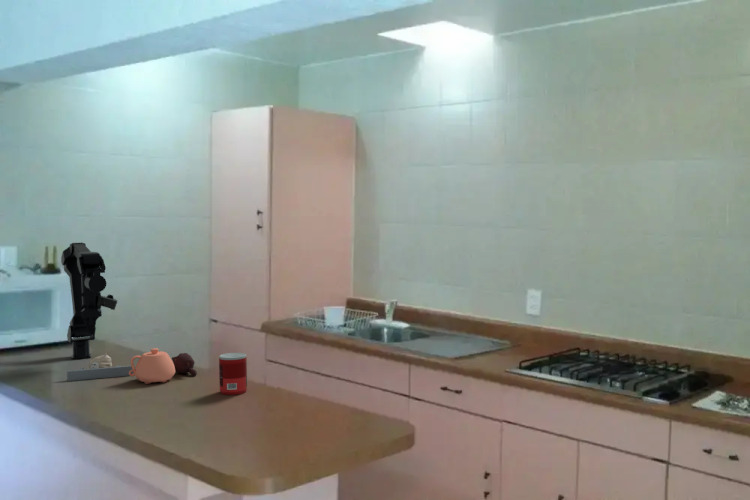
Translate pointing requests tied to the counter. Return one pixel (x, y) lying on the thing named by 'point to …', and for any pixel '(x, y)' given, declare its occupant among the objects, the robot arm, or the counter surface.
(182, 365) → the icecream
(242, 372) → the canned food
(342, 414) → the counter surface
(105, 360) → the garlic bulb
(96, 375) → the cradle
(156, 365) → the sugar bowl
